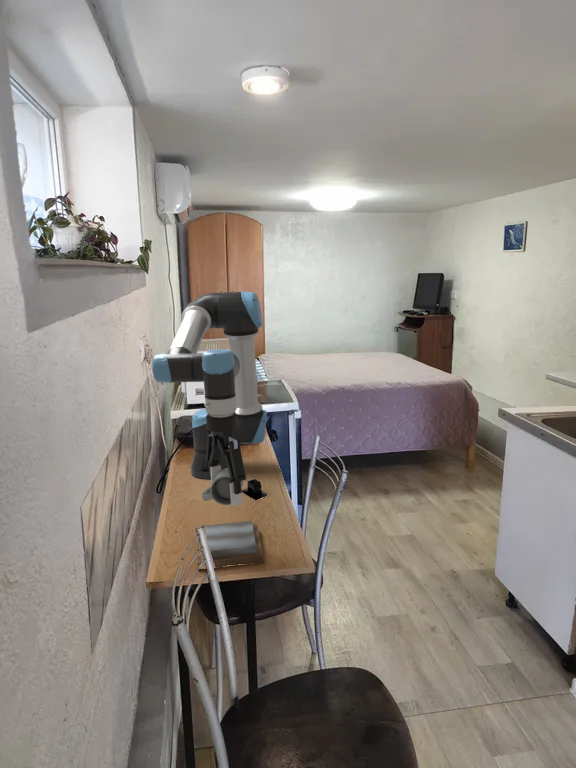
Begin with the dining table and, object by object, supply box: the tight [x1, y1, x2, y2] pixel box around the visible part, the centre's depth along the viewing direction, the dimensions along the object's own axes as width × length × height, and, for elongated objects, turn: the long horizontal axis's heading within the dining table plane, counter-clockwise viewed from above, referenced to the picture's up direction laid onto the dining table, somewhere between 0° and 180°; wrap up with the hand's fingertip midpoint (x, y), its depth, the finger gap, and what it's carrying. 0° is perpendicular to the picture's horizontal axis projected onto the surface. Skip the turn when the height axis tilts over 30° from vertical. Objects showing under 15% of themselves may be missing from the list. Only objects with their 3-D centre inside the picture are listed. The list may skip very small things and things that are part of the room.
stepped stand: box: [197, 520, 264, 569], centre depth 128 cm, size 16×16×4 cm
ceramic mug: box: [201, 468, 244, 506], centre depth 125 cm, size 11×8×8 cm
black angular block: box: [242, 478, 267, 502], centre depth 161 cm, size 12×7×5 cm, turn 36°
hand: (226, 496), depth 126 cm, fingers closed on ceramic mug, 10 cm apart
